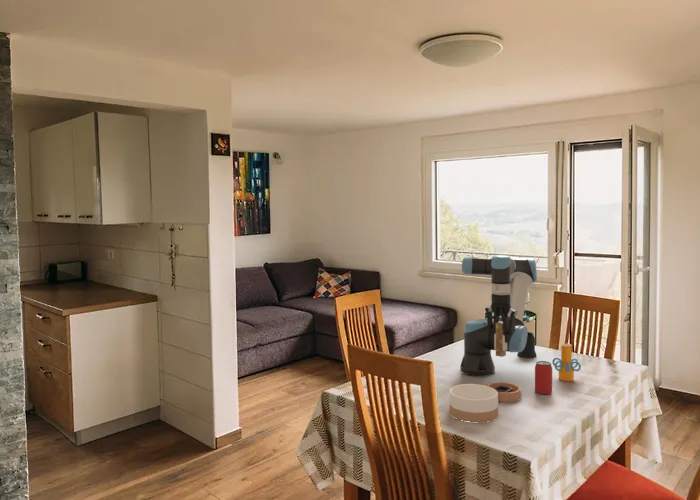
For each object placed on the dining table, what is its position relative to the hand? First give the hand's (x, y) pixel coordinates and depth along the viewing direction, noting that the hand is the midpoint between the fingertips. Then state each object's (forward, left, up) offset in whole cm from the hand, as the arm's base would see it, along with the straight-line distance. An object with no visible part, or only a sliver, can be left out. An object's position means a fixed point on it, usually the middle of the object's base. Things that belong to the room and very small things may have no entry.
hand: (500, 349), depth 229 cm
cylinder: (+18, +24, -15) cm, 34 cm away
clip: (+7, -11, -15) cm, 20 cm away
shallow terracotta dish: (+7, -11, -15) cm, 20 cm away
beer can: (+17, +3, -15) cm, 23 cm away
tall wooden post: (0, 0, -3) cm, 3 cm away
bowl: (+7, -34, -16) cm, 38 cm away
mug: (-11, +49, -15) cm, 52 cm away
